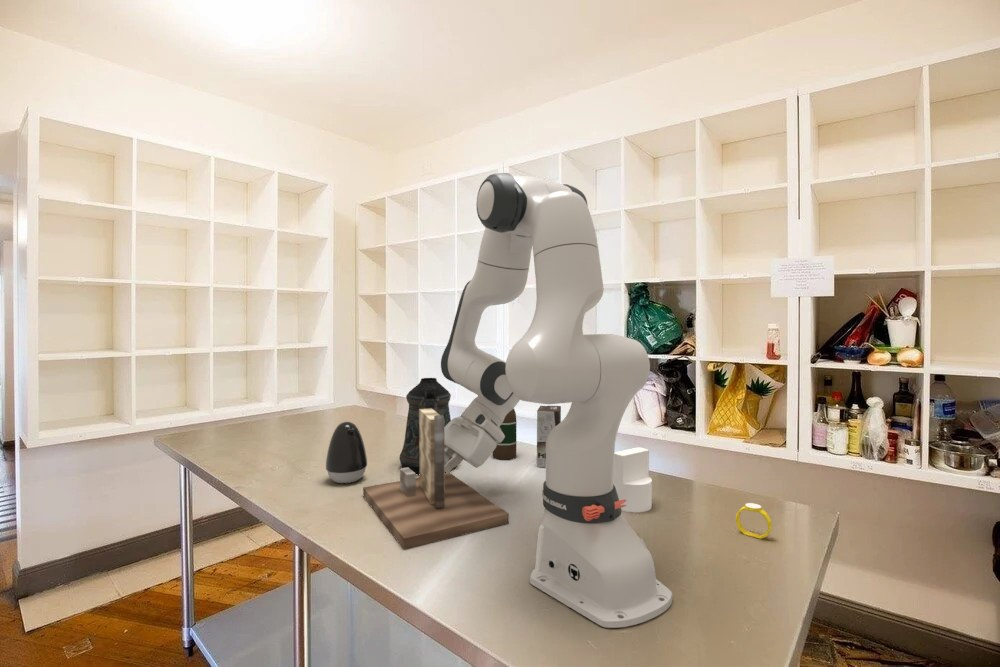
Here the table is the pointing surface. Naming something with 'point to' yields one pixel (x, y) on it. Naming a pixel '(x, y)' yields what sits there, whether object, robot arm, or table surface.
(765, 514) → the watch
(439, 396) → the beer stein
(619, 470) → the base with upright slab
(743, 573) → the table surface
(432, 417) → the wood grain panel
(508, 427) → the beer bottle
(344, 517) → the table surface
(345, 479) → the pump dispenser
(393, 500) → the wooden board with peg
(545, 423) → the coffee box
